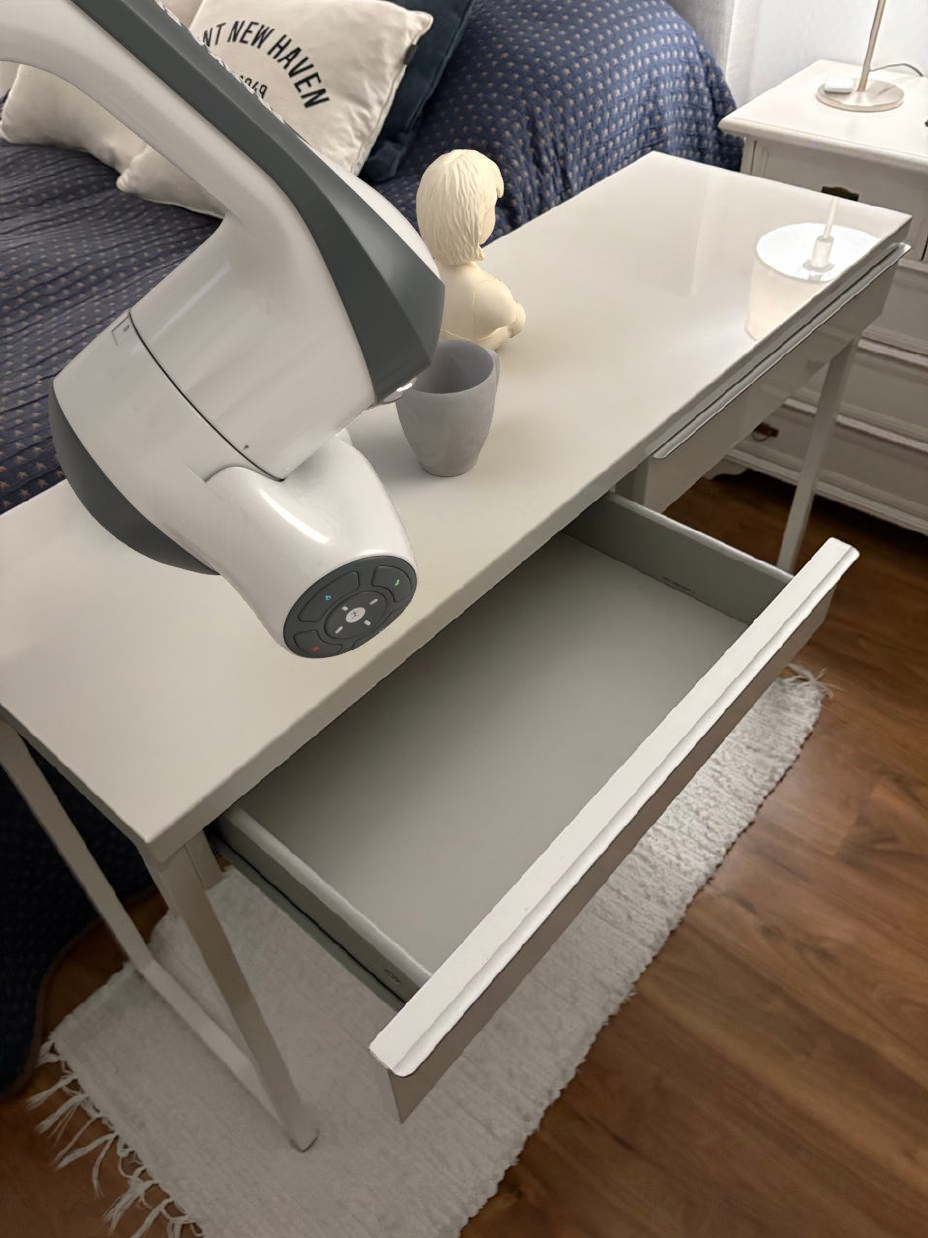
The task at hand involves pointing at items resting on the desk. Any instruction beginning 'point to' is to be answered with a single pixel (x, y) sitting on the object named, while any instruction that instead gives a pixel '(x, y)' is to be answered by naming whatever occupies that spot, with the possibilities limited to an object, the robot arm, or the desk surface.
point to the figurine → (466, 247)
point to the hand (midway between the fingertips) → (200, 323)
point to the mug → (451, 407)
